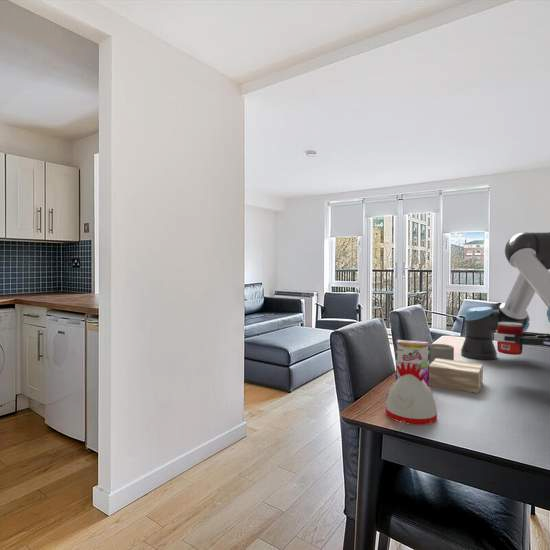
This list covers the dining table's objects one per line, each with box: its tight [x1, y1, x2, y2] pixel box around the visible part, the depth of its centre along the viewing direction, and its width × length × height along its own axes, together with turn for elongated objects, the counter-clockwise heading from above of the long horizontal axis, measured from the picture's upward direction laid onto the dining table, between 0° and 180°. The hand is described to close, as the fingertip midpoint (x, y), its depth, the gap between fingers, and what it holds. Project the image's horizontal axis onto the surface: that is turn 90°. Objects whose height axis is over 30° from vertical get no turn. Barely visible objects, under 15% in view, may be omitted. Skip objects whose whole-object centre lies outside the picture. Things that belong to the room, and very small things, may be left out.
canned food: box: [496, 322, 523, 356], centre depth 139 cm, size 8×8×11 cm
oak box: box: [429, 358, 484, 394], centre depth 136 cm, size 14×16×7 cm
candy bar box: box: [394, 339, 430, 388], centre depth 131 cm, size 11×5×16 cm, turn 71°
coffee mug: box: [429, 343, 455, 365], centre depth 155 cm, size 13×10×10 cm
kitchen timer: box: [385, 362, 438, 426], centre depth 107 cm, size 14×14×15 cm
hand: (495, 335), depth 142 cm, fingers closed on canned food, 8 cm apart
